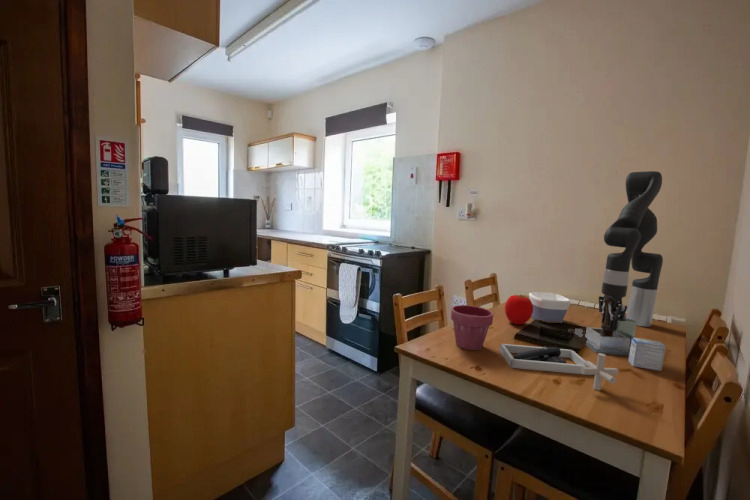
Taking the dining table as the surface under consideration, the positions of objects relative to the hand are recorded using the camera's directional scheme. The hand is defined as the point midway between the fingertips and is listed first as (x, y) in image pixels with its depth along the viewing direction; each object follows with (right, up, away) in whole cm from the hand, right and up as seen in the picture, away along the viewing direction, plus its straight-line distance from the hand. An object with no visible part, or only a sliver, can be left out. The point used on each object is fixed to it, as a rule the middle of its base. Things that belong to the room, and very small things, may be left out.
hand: (608, 327), depth 129 cm
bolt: (0, -4, +1) cm, 4 cm away
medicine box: (+2, -10, -14) cm, 17 cm away
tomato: (-25, -4, +23) cm, 34 cm away
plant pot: (-53, -5, -5) cm, 54 cm away
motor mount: (+4, -7, +5) cm, 9 cm away
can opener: (-35, -8, -17) cm, 40 cm away
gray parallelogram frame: (-32, -8, -16) cm, 36 cm away
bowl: (-8, -4, +30) cm, 32 cm away
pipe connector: (-24, -10, -31) cm, 41 cm away
